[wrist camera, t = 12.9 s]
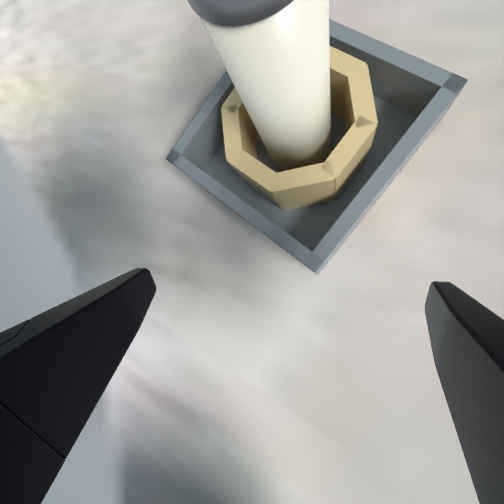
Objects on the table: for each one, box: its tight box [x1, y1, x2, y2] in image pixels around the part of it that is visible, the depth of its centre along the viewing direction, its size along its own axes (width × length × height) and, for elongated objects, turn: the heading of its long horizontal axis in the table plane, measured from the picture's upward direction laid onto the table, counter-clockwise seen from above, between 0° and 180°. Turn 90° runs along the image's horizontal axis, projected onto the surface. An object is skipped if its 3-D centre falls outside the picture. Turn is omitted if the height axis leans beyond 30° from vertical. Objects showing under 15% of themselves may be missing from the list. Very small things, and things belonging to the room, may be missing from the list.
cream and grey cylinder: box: [188, 0, 331, 172], centre depth 13 cm, size 4×4×12 cm
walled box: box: [166, 19, 468, 274], centre depth 17 cm, size 12×12×4 cm
